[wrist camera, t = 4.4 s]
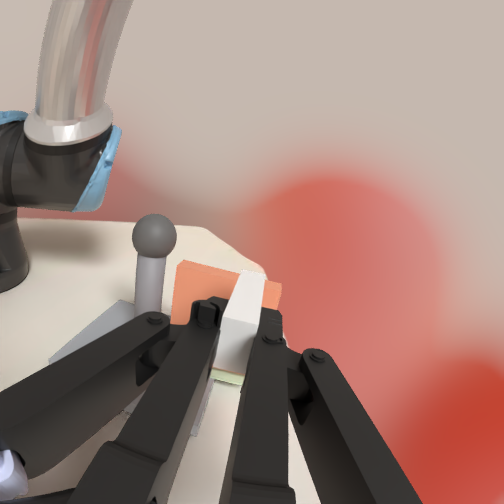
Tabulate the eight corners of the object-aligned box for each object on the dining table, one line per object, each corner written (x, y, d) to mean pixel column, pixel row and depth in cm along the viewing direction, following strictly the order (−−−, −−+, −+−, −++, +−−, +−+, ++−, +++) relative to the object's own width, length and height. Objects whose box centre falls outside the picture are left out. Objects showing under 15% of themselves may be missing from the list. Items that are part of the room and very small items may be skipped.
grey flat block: (51, 372, 17) (47, 358, 17) (119, 309, 31) (120, 298, 30) (235, 445, 16) (239, 434, 16) (252, 349, 30) (255, 337, 30)
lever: (121, 349, 21) (126, 212, 18) (137, 331, 25) (147, 207, 22) (252, 390, 21) (294, 252, 18) (256, 365, 24) (291, 241, 21)
